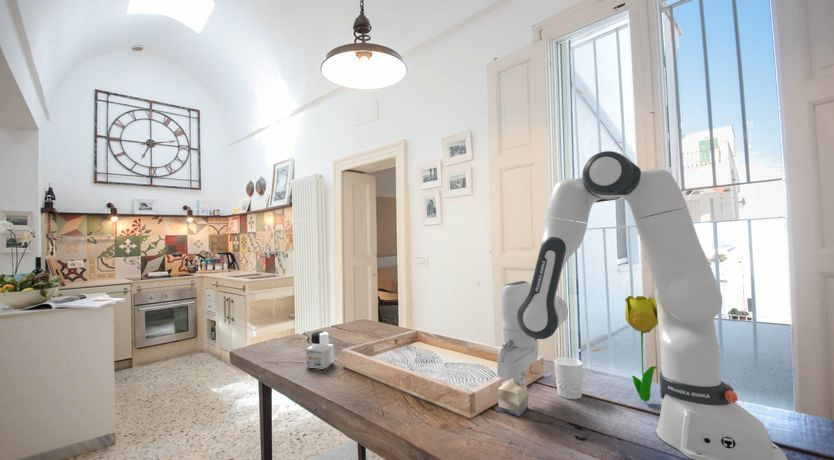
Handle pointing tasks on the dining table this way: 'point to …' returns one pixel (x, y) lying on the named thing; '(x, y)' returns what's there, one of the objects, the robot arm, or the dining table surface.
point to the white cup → (568, 377)
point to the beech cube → (512, 398)
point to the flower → (642, 319)
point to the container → (320, 351)
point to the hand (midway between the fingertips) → (519, 385)
